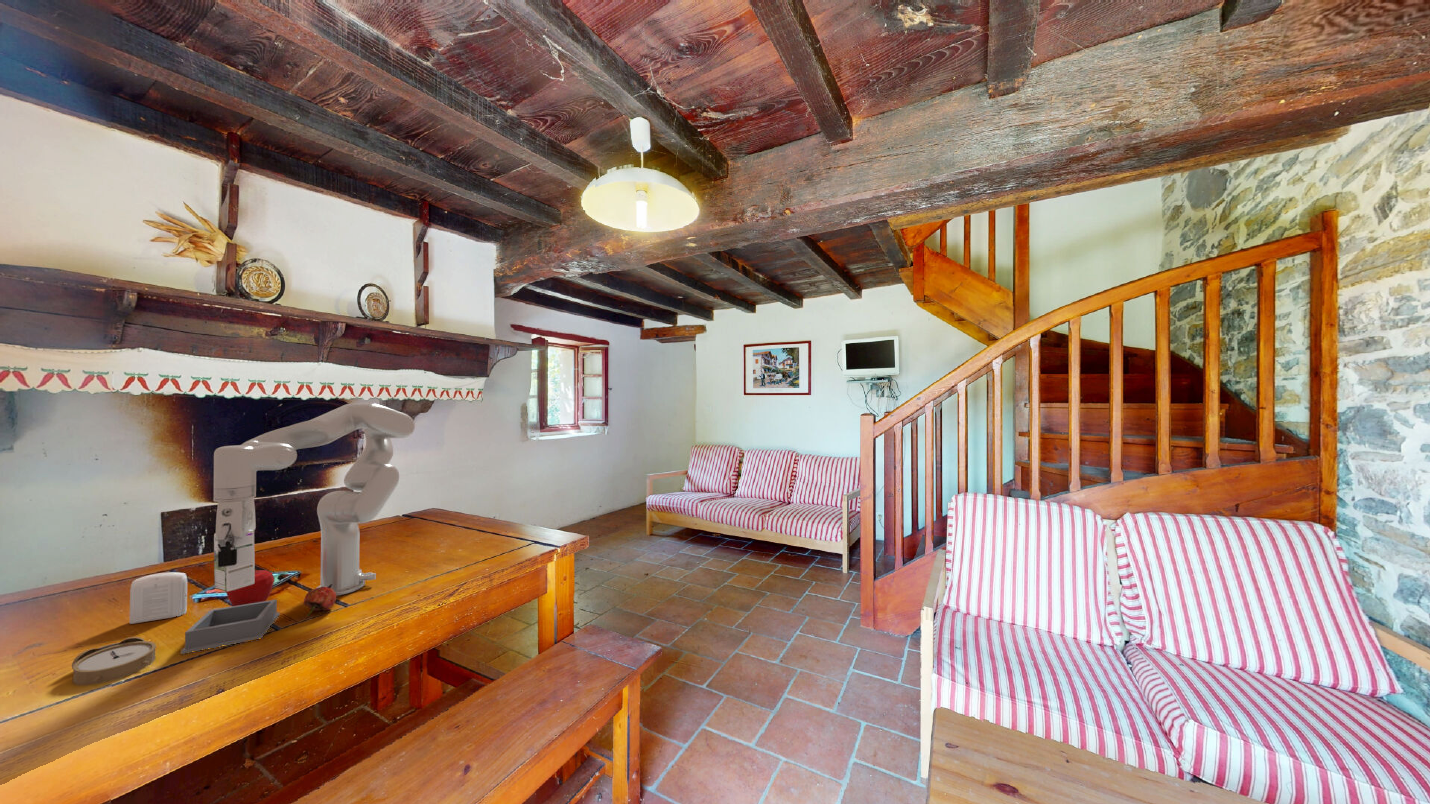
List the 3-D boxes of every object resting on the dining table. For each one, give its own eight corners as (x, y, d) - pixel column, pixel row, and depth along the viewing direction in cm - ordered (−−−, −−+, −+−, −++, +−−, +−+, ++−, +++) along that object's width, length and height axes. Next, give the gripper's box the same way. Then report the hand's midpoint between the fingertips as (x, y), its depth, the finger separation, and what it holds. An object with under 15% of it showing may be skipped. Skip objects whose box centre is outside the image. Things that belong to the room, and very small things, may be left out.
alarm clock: (79, 679, 93) (64, 647, 100) (78, 701, 93) (63, 667, 100) (163, 652, 103) (144, 625, 110) (162, 672, 103) (143, 643, 110)
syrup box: (255, 583, 118) (256, 529, 118) (225, 592, 112) (225, 535, 112) (242, 580, 120) (243, 526, 120) (212, 589, 114) (212, 533, 114)
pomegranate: (323, 624, 126) (351, 591, 134) (303, 611, 122) (333, 577, 129) (305, 623, 128) (333, 590, 136) (284, 610, 124) (315, 577, 132)
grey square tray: (279, 615, 126) (279, 598, 126) (261, 639, 114) (261, 620, 114) (208, 628, 119) (208, 609, 119) (180, 654, 107) (181, 634, 107)
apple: (277, 596, 137) (278, 561, 137) (268, 609, 129) (269, 572, 129) (232, 604, 132) (232, 568, 132) (219, 618, 124) (219, 579, 124)
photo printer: (189, 610, 128) (190, 567, 128) (183, 616, 125) (183, 572, 125) (134, 619, 123) (134, 574, 122) (125, 626, 119) (126, 580, 119)
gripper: (242, 498, 110) (241, 569, 111) (266, 486, 125) (266, 548, 126) (198, 501, 107) (197, 574, 107) (229, 488, 121) (228, 552, 122)
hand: (234, 559), depth 116 cm, fingers closed on syrup box, 8 cm apart
